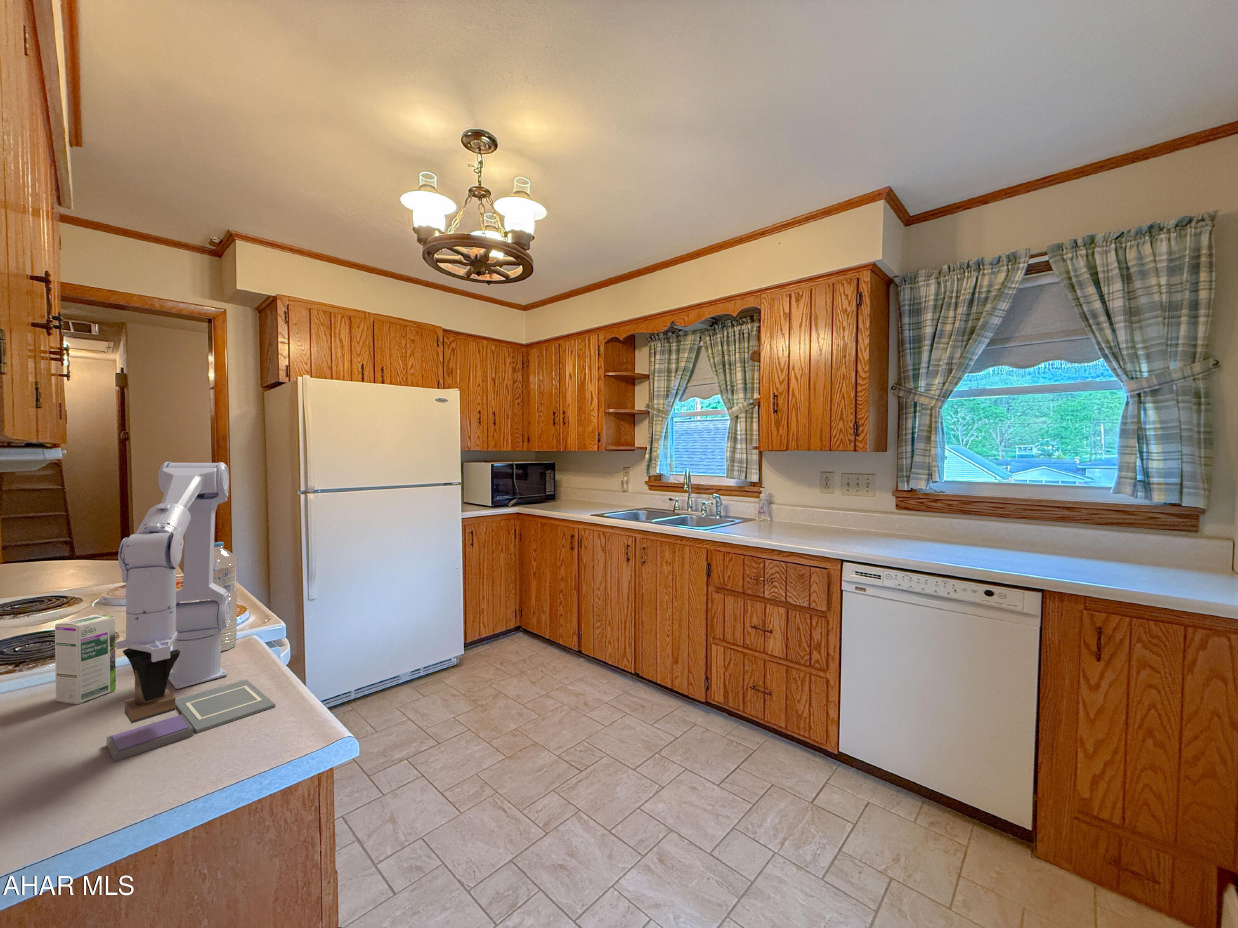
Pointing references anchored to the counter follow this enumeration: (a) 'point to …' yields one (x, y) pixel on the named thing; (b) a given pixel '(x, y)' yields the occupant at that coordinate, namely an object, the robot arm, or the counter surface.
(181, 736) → the ink pad
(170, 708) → the stamp
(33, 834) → the counter surface
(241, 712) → the board
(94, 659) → the syrup box
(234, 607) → the water bottle
